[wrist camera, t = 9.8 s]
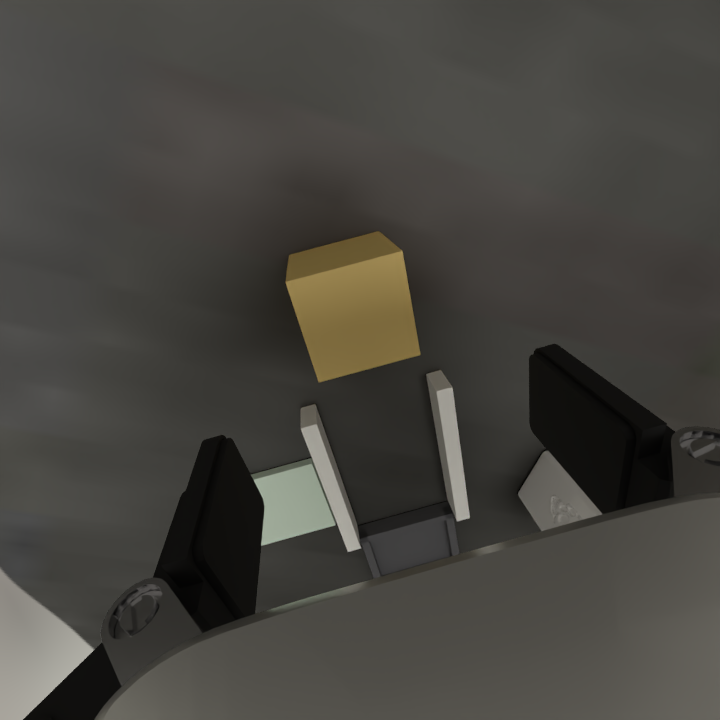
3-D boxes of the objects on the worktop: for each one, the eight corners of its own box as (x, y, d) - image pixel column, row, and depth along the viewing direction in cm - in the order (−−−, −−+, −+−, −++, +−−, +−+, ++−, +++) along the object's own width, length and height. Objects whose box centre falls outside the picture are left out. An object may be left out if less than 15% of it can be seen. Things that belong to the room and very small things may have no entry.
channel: (459, 495, 31) (469, 517, 29) (345, 527, 31) (347, 551, 29) (440, 369, 25) (452, 387, 23) (300, 407, 25) (300, 428, 23)
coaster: (335, 518, 30) (335, 525, 29) (254, 541, 30) (253, 547, 29) (311, 457, 27) (311, 463, 26) (221, 482, 27) (220, 488, 26)
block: (395, 314, 23) (420, 354, 18) (315, 336, 23) (318, 382, 18) (378, 230, 21) (402, 250, 16) (289, 254, 21) (285, 282, 16)
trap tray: (456, 554, 34) (461, 567, 33) (375, 577, 34) (377, 590, 33) (447, 501, 31) (452, 513, 30) (357, 526, 31) (359, 538, 30)
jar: (553, 427, 29) (700, 579, 18) (637, 442, 31) (813, 587, 20) (502, 511, 32) (600, 680, 22) (579, 520, 34) (704, 678, 24)
